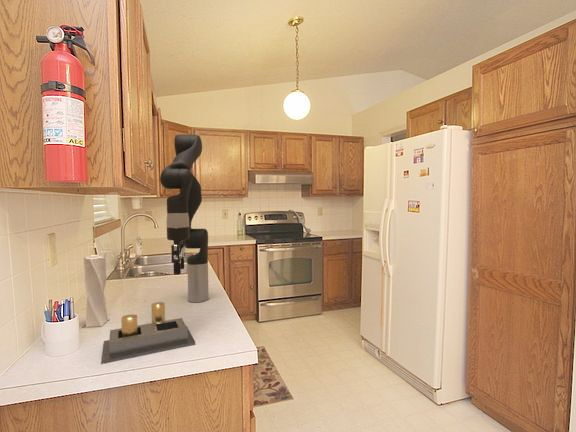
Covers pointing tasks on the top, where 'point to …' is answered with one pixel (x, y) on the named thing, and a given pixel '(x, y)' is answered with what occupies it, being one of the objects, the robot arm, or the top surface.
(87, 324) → the skyscraper
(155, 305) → the gold and grey cylinder
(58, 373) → the top surface
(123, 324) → the jig
